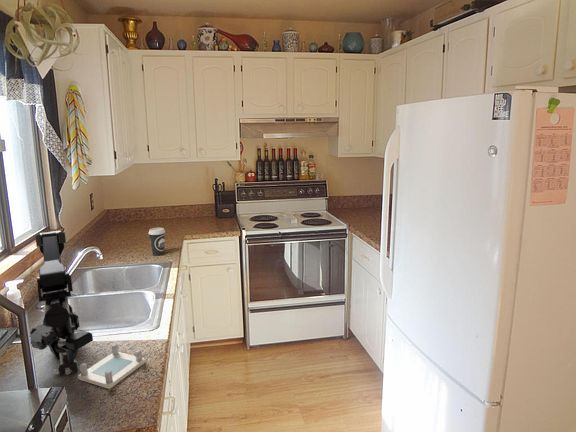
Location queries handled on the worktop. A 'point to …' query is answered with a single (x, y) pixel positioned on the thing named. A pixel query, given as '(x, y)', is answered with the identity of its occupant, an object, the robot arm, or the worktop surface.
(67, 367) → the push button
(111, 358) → the board
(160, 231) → the coffee cup
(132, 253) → the worktop surface
